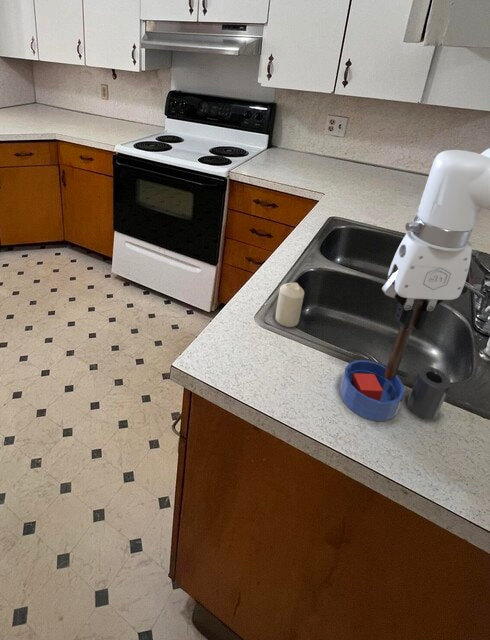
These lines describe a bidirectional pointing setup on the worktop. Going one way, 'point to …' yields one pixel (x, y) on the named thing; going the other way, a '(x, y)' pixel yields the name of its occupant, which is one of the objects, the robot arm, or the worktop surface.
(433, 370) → the utensil holder
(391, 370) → the stirring stick
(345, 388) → the bowl
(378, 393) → the red block
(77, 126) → the worktop surface
